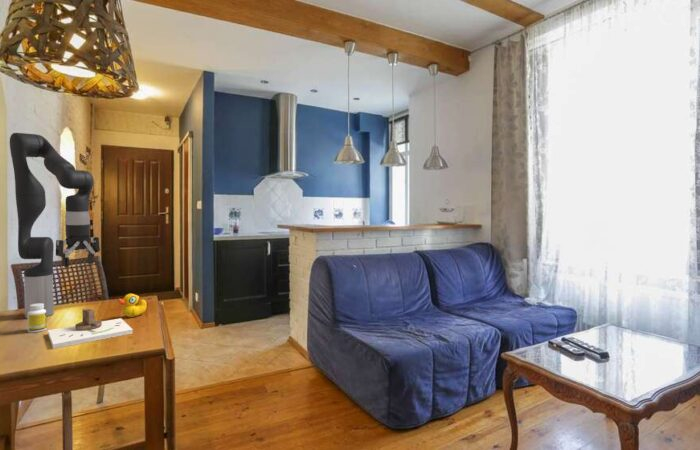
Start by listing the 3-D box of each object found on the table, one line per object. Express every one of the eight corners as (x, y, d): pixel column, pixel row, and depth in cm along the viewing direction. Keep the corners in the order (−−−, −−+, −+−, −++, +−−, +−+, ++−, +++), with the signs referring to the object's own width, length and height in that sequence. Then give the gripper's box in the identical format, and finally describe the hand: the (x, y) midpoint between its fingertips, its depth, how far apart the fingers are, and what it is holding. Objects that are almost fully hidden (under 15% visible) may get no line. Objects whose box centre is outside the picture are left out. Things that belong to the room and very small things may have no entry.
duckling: (122, 321, 151) (121, 297, 150) (115, 319, 154) (114, 295, 153) (149, 314, 161) (149, 291, 160) (142, 312, 163) (142, 290, 163)
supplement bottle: (48, 330, 139) (48, 304, 138) (30, 333, 134) (29, 307, 134) (43, 327, 142) (43, 301, 142) (25, 330, 137) (25, 304, 137)
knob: (71, 327, 137) (71, 310, 137) (95, 322, 144) (95, 306, 144) (86, 333, 131) (85, 316, 130) (110, 328, 137) (110, 311, 137)
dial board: (47, 334, 134) (47, 329, 134) (121, 321, 150) (121, 317, 150) (53, 348, 121) (53, 343, 121) (132, 333, 137) (132, 328, 137)
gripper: (62, 225, 132) (63, 269, 134) (103, 222, 145) (104, 263, 147) (50, 223, 135) (52, 267, 137) (91, 221, 148) (92, 261, 150)
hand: (78, 265), depth 142 cm, fingers open, 8 cm apart
